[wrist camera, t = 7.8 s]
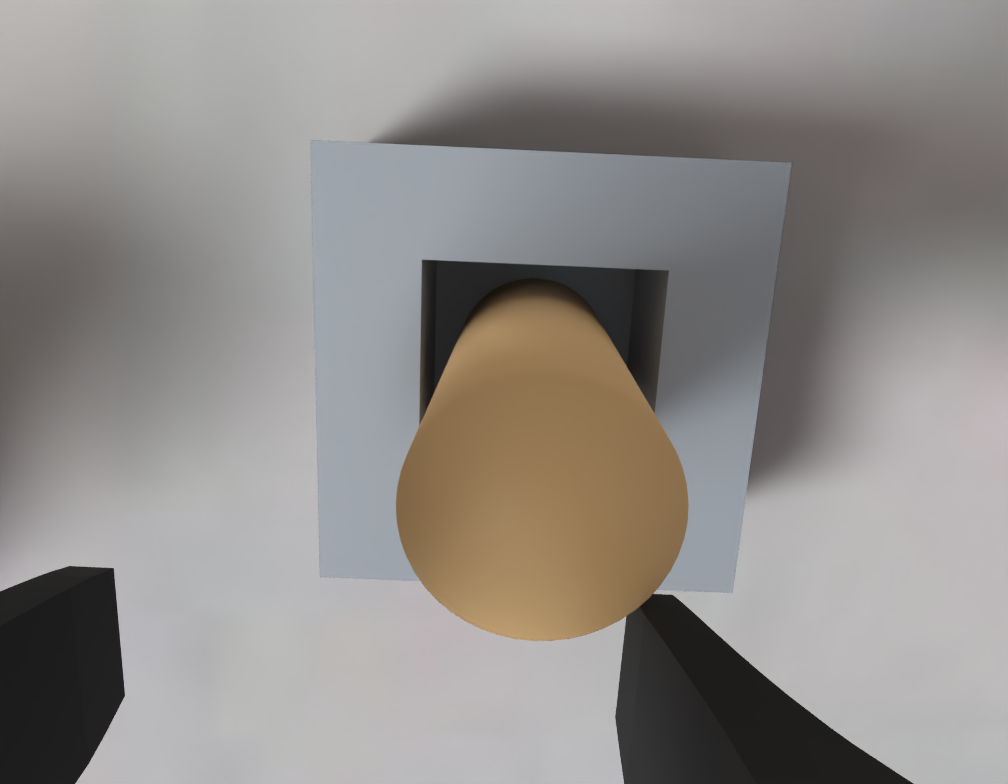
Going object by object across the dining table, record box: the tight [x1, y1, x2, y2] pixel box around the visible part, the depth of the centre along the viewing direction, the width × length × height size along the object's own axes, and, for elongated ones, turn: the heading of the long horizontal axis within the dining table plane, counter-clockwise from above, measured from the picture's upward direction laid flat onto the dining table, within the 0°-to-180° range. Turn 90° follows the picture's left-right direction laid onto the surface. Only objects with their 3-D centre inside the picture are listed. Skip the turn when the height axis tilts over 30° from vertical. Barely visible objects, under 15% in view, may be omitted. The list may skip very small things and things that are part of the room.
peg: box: [396, 278, 689, 641], centre depth 14 cm, size 4×4×10 cm
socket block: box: [310, 140, 792, 593], centre depth 17 cm, size 9×9×4 cm
